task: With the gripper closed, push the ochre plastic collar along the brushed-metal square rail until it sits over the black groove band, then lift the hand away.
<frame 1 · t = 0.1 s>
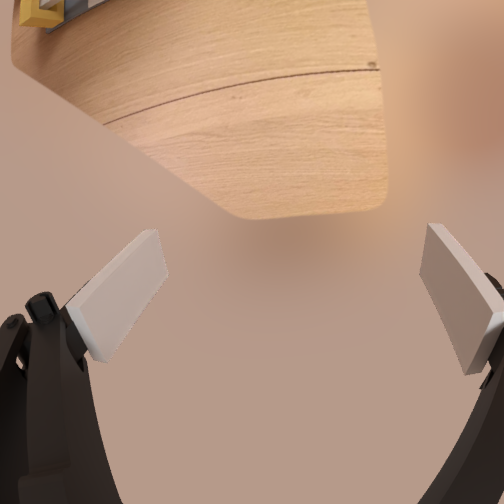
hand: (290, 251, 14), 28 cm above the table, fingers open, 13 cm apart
collar: (42, 4, 25), point 6 cm above the table, slide at 0.0 cm
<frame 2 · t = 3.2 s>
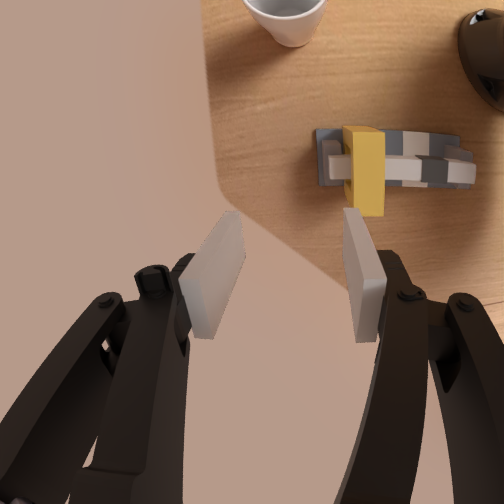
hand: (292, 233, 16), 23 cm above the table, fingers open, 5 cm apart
white cup: (292, 29, 28), on the table
collar: (362, 166, 29), point 6 cm above the table, slide at 0.0 cm
rail: (392, 157, 33), on the table
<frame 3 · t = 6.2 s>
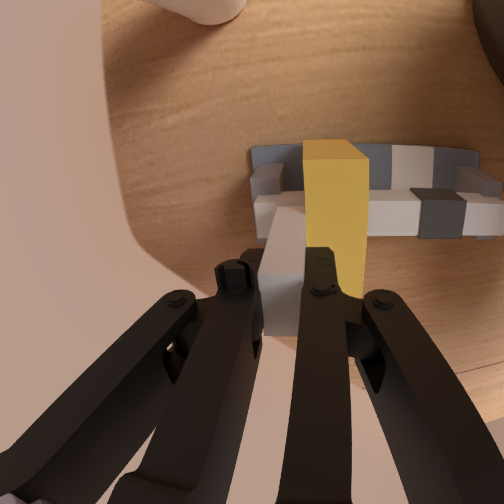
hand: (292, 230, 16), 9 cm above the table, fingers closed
collar: (331, 212, 18), point 6 cm above the table, slide at 1.0 cm, touching gripper
rail: (374, 186, 22), on the table
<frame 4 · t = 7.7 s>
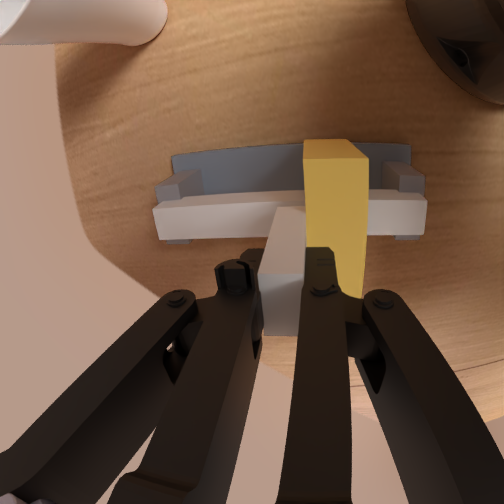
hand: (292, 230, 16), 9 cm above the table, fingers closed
white cup: (143, 20, 19), on the table
collar: (331, 211, 18), point 6 cm above the table, slide at 7.7 cm, touching gripper
rail: (292, 186, 24), on the table
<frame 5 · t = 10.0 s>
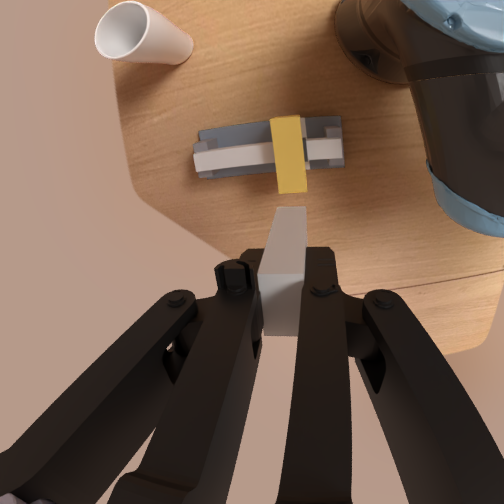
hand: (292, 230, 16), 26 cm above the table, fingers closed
white cup: (177, 48, 34), on the table
collar: (290, 150, 33), point 6 cm above the table, slide at 7.7 cm
rail: (271, 146, 39), on the table
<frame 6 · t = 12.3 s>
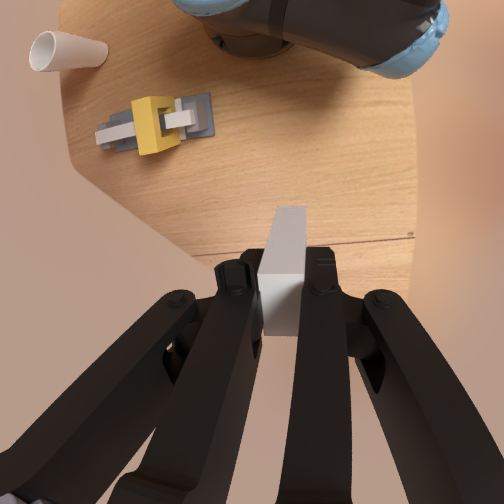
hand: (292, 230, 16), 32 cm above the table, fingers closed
white cup: (99, 54, 41), on the table
collar: (157, 123, 40), point 6 cm above the table, slide at 7.7 cm
rail: (159, 123, 46), on the table
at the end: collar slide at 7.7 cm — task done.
